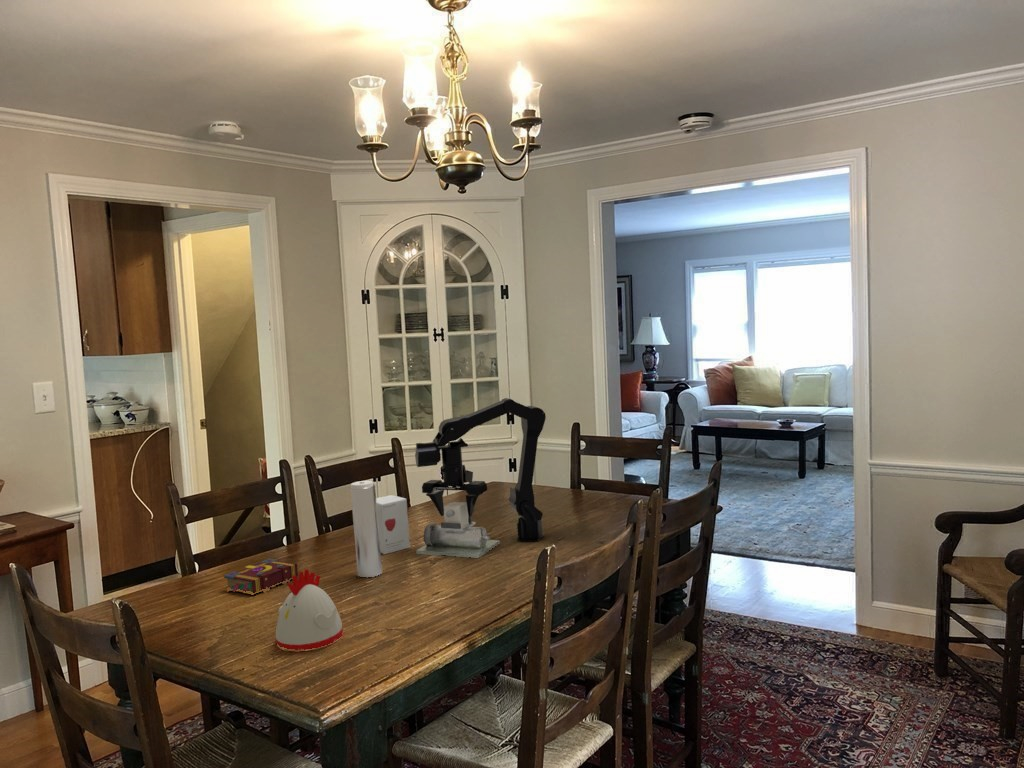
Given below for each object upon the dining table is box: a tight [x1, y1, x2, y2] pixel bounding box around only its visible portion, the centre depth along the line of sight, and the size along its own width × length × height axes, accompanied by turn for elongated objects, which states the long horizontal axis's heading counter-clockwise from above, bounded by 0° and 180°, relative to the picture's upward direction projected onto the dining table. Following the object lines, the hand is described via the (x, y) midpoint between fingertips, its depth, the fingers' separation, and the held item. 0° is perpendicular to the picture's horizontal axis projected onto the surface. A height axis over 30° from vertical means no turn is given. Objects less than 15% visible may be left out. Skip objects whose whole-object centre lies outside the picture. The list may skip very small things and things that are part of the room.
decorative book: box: [223, 558, 299, 593], centre depth 205 cm, size 11×16×5 cm
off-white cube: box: [443, 501, 469, 527], centre depth 225 cm, size 5×7×6 cm
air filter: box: [350, 480, 383, 579], centre depth 208 cm, size 6×6×25 cm
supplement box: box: [376, 494, 411, 555], centre depth 231 cm, size 9×9×15 cm
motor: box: [415, 516, 501, 559], centre depth 226 cm, size 20×14×8 cm
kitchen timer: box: [275, 568, 344, 650], centre depth 167 cm, size 14×14×15 cm
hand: (456, 516), depth 226 cm, fingers open, 9 cm apart
